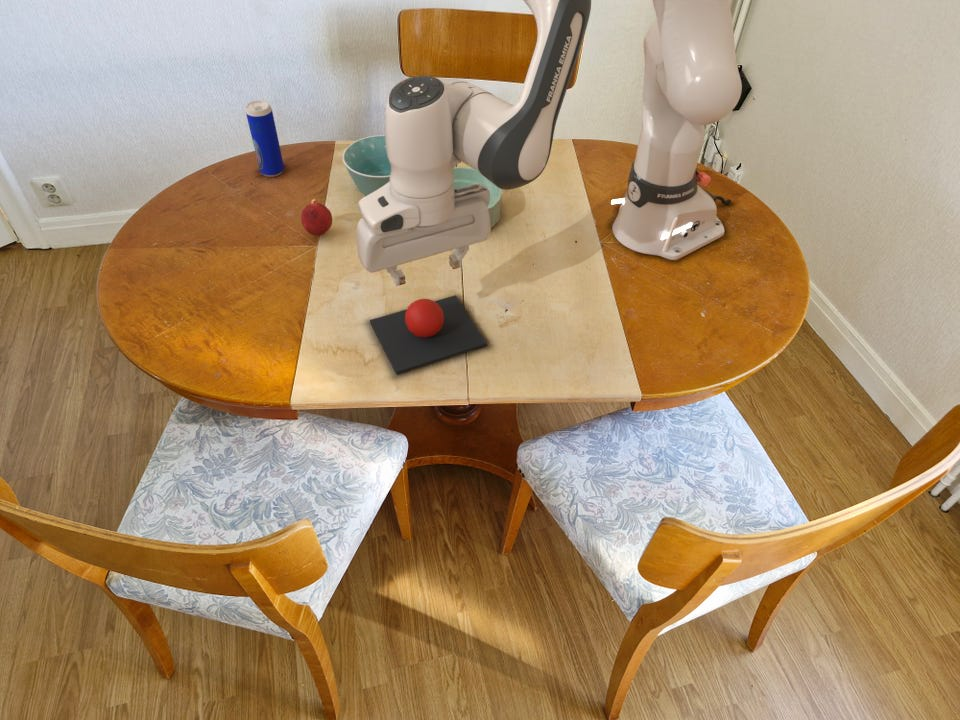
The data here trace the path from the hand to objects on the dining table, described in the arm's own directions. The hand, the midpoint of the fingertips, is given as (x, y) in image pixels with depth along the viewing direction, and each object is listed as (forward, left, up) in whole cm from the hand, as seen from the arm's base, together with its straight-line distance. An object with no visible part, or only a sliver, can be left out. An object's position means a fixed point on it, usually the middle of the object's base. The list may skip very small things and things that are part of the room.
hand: (427, 274), depth 107 cm
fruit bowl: (-19, -30, -13) cm, 38 cm away
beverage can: (+12, -60, -14) cm, 63 cm away
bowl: (-8, -44, -14) cm, 47 cm away
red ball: (0, 0, -13) cm, 13 cm away
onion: (+9, -34, -14) cm, 38 cm away
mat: (0, 0, -13) cm, 13 cm away
